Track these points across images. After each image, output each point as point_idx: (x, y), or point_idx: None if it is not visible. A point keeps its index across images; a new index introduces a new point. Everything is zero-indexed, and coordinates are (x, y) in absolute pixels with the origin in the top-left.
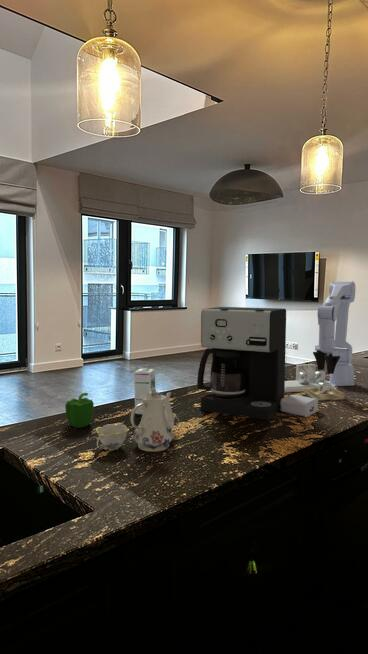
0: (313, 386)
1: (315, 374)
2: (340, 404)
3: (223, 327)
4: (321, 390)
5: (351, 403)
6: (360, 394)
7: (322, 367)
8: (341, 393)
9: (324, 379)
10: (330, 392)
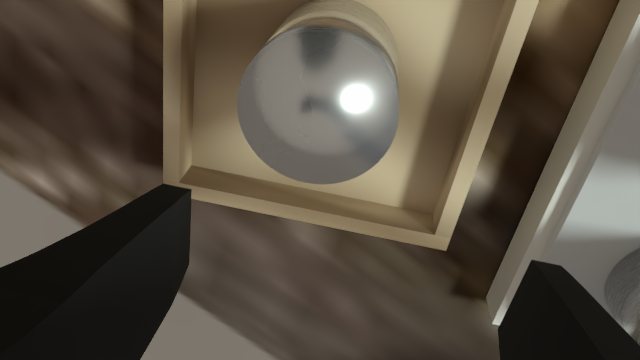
0: (602, 136)
1: None
2: (12, 3)
3: None
4: (290, 21)
5: (41, 120)
6: (283, 351)
7: (514, 345)
8: (206, 185)
9: None
10: (382, 184)
